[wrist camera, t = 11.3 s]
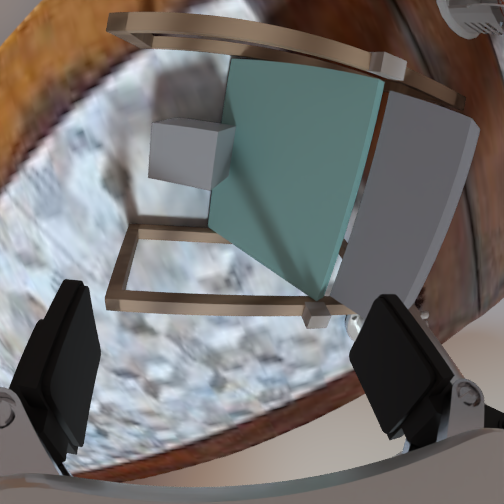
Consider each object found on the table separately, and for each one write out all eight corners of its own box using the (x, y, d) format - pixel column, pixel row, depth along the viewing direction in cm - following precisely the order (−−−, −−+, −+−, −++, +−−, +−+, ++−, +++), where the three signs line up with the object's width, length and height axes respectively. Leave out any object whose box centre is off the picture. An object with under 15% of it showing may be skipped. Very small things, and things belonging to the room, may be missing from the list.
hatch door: (481, 123, 19) (471, 108, 14) (412, 306, 28) (379, 344, 22) (285, 70, 31) (231, 58, 26) (258, 214, 40) (207, 226, 35)
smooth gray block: (218, 131, 24) (152, 122, 24) (210, 190, 26) (148, 177, 27) (236, 125, 28) (178, 117, 29) (228, 176, 30) (173, 165, 31)
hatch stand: (384, 81, 29) (479, 99, 17) (340, 246, 40) (396, 323, 28) (143, 36, 24) (102, 6, 11) (129, 233, 34) (103, 324, 22)
